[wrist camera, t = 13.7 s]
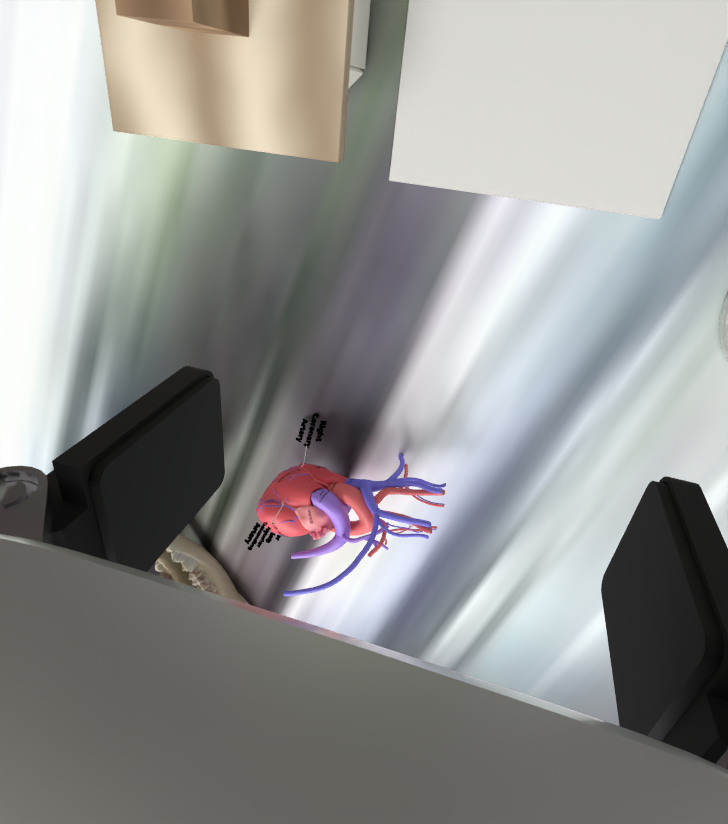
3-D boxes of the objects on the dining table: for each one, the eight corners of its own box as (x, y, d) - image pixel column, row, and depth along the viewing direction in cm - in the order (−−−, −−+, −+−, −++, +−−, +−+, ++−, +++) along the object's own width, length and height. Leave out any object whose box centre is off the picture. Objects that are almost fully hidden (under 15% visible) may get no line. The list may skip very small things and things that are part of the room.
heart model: (269, 413, 52) (436, 411, 42) (307, 469, 57) (463, 478, 48) (182, 544, 42) (371, 578, 33) (237, 597, 48) (414, 639, 38)
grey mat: (808, -184, 24) (813, -189, 24) (658, 217, 34) (659, 219, 33) (431, -185, 28) (430, -190, 27) (390, 179, 37) (389, 180, 37)
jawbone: (267, 623, 67) (202, 724, 56) (211, 618, 72) (140, 710, 61) (183, 461, 58) (85, 543, 47) (125, 467, 63) (23, 543, 52)
